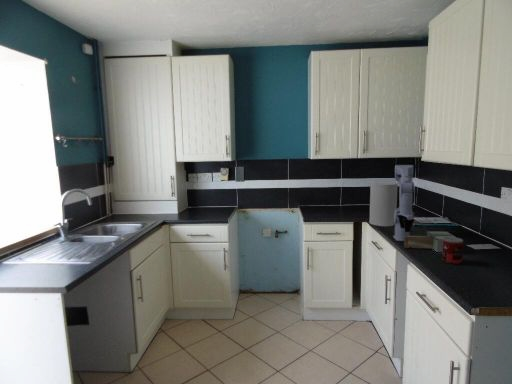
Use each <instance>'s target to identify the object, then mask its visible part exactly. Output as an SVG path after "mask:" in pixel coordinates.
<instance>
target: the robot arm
mask: <svg viewBox="0 0 512 384" xmlns="http://www.w3.org/2000/svg"><path fill="white" fill-rule="evenodd" d="M414 169H415V168H414V165H413V164H396V165H395V166H394V179H395V181H397V182H398V185H399V187H398V189H399V195H398V196H399V199H398V200H399V206H398V208H397V209H396V210H395V211H394V223H396V225H394V235H392V237H393V238H394V240H395V241H397V242H404V236H411V235H410V233H411V229H412V225H413V224H414V222H415V221H416V220H415V219H414V215H415V213H414V212H413V199H414V198H413V196H414V191H415V183H414V182H413V181H412V180H413V178H414Z"/></svg>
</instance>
